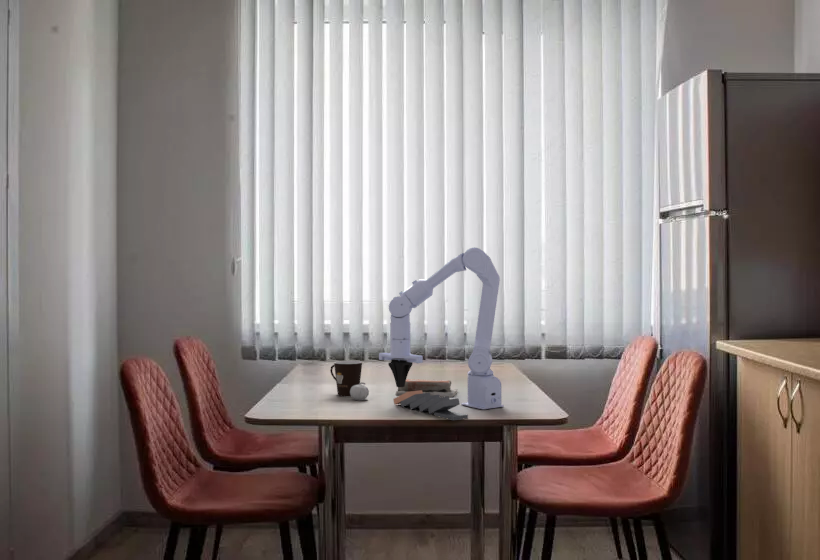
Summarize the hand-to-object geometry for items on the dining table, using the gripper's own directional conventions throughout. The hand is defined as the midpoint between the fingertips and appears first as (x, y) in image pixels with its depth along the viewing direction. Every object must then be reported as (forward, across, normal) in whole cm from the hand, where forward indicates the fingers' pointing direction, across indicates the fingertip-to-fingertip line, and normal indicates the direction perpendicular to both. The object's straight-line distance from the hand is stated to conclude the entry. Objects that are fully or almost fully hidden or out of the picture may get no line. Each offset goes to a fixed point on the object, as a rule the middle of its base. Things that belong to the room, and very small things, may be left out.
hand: (400, 386), depth 209 cm
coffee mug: (+5, +24, -4) cm, 25 cm away
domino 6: (+5, -18, +6) cm, 20 cm away
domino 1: (+4, 0, 0) cm, 4 cm away
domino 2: (+4, -4, +1) cm, 6 cm away
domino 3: (+4, -8, +2) cm, 9 cm away
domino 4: (+4, -12, +4) cm, 14 cm away
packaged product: (+6, +5, -20) cm, 21 cm away
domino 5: (+4, -16, +5) cm, 18 cm away
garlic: (+5, +14, +1) cm, 15 cm away
